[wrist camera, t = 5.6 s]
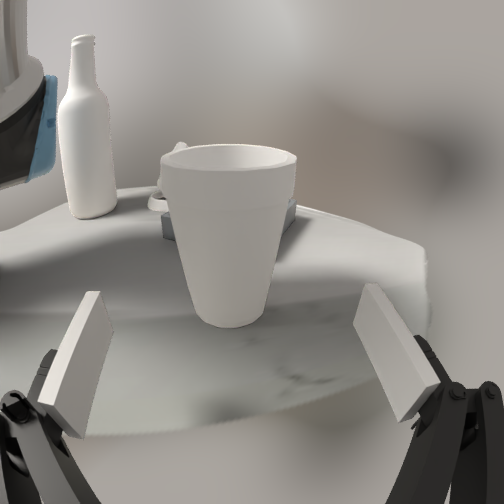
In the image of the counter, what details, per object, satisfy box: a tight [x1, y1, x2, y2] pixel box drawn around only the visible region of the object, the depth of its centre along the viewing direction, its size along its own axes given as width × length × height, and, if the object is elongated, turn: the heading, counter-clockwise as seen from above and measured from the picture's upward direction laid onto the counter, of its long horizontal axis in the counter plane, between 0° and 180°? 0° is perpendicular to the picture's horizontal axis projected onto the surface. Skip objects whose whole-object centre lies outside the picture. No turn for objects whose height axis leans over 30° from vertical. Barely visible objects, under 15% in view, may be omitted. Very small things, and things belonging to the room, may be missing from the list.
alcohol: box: [57, 35, 118, 219], centre depth 38 cm, size 9×9×30 cm
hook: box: [147, 142, 189, 211], centre depth 47 cm, size 8×12×7 cm
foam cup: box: [160, 144, 297, 328], centre depth 23 cm, size 10×9×13 cm
